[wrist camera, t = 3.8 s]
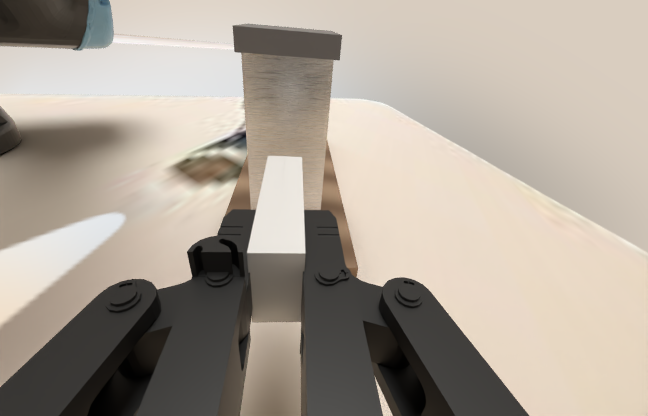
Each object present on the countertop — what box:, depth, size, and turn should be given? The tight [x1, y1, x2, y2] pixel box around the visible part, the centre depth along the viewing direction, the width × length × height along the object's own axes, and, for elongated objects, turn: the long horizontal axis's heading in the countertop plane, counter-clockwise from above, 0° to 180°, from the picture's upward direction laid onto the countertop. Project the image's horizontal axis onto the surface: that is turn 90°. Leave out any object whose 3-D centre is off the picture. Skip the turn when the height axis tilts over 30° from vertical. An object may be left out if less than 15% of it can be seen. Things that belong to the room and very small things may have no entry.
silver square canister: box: [233, 24, 342, 210], centre depth 21 cm, size 6×6×13 cm
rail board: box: [225, 141, 358, 277], centre depth 32 cm, size 28×10×2 cm, turn 4°
